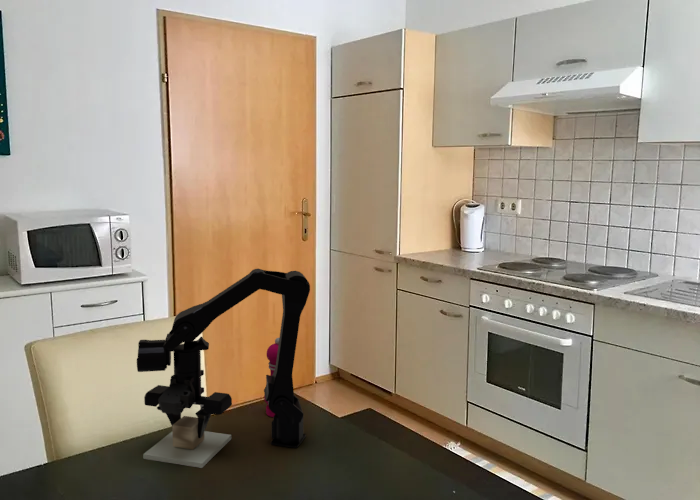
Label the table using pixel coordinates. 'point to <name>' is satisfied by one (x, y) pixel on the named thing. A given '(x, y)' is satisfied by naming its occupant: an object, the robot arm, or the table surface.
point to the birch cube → (186, 433)
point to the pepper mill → (272, 367)
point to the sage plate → (188, 450)
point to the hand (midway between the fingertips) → (188, 435)
